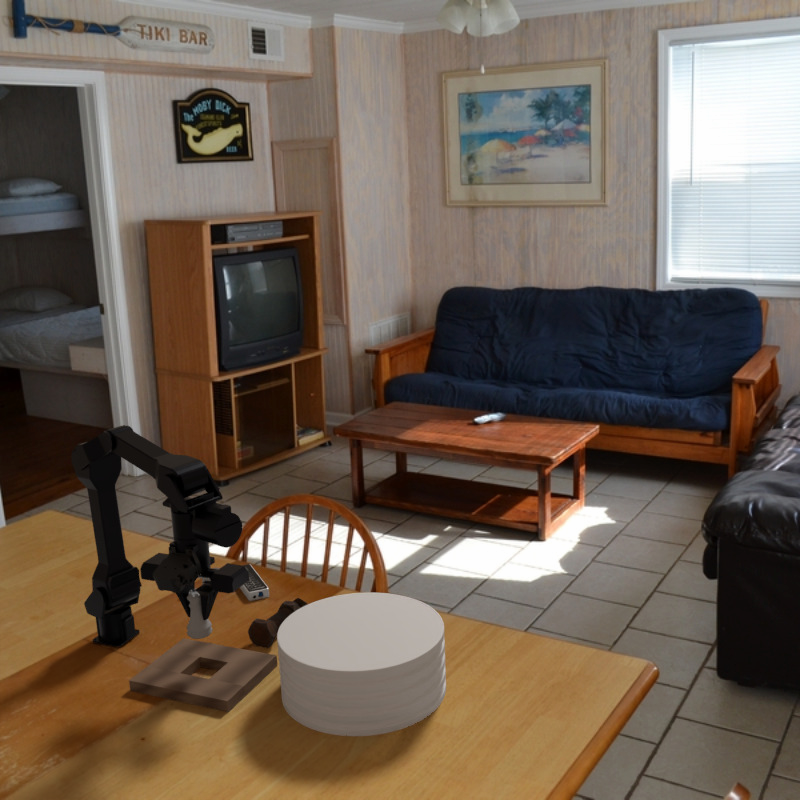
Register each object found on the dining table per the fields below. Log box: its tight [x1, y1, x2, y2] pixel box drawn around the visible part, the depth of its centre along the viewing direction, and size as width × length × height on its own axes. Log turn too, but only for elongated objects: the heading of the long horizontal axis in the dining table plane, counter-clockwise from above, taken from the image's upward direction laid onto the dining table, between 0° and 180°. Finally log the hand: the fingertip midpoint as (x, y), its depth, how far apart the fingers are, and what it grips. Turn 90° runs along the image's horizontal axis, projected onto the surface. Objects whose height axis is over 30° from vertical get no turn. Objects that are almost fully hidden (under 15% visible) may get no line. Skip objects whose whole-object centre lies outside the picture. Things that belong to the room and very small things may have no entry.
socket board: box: [128, 637, 278, 713], centre depth 173 cm, size 20×16×2 cm
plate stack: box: [276, 591, 447, 737], centre depth 166 cm, size 28×28×12 cm
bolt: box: [247, 597, 309, 649], centre depth 190 cm, size 6×5×15 cm
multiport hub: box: [239, 563, 270, 602], centre depth 210 cm, size 4×14×2 cm, turn 24°
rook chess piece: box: [186, 587, 213, 640], centre depth 170 cm, size 4×4×8 cm
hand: (198, 617), depth 170 cm, fingers closed on rook chess piece, 3 cm apart
